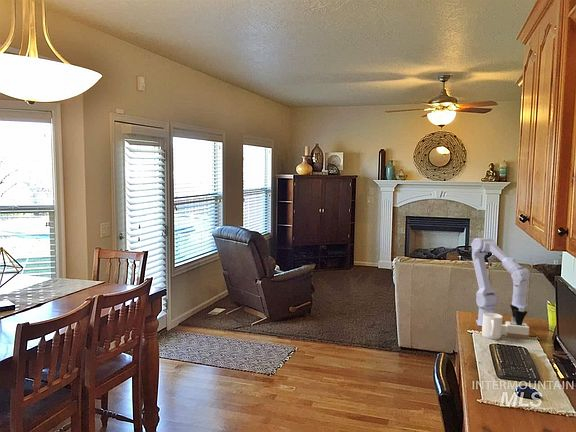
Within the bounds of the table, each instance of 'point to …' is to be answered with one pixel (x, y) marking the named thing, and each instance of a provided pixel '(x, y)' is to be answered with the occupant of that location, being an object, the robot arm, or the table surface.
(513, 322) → the white upright block
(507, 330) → the slotted upright plate
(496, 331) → the mug
